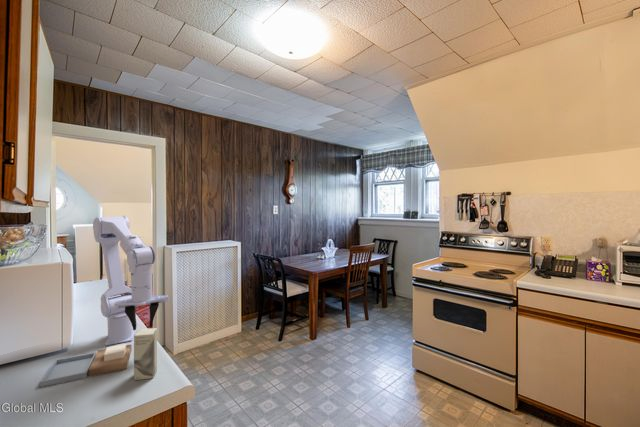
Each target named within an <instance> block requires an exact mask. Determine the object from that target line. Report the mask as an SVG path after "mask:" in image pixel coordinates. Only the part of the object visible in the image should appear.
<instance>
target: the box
mask: <svg viewBox="0 0 640 427" xmlns="http://www.w3.org/2000/svg"><path fill="white" fill-rule="evenodd" d="M157 369H158V328H157V327H149V328H141V329H137V330H136V331H135V332H134V336H133V380H134V381H140V380H147V379H153V378H154V377H155V375H156V373H157Z"/></svg>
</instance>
